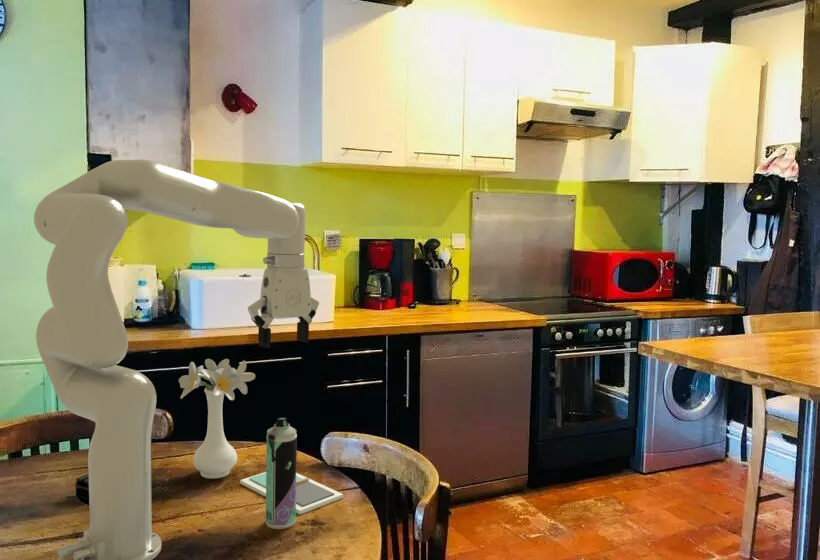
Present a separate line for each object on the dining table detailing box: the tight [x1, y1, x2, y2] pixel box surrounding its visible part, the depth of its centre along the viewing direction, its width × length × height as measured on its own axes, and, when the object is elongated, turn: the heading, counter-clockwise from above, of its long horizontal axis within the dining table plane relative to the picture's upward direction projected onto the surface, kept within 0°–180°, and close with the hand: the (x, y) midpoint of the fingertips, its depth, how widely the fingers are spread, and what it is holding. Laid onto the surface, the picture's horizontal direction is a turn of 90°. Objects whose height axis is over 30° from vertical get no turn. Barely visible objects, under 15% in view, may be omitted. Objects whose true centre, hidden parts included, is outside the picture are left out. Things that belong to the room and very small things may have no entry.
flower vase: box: [178, 358, 256, 480], centre depth 149 cm, size 13×18×25 cm
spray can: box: [265, 416, 298, 530], centre depth 127 cm, size 6×6×20 cm
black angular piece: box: [64, 472, 89, 506], centre depth 137 cm, size 12×7×5 cm, turn 64°
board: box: [240, 471, 344, 515], centre depth 142 cm, size 11×20×2 cm, turn 47°
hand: (284, 344), depth 144 cm, fingers open, 9 cm apart
